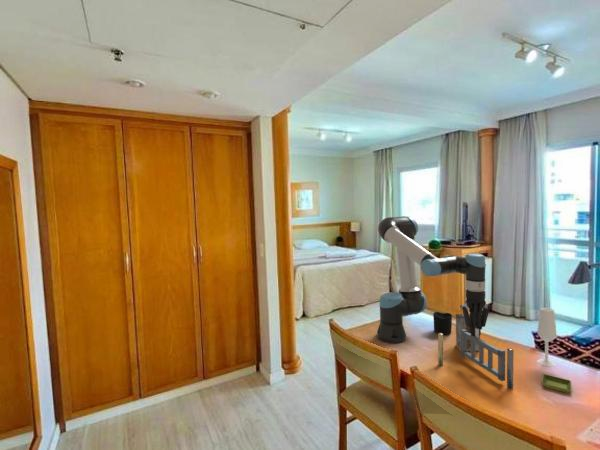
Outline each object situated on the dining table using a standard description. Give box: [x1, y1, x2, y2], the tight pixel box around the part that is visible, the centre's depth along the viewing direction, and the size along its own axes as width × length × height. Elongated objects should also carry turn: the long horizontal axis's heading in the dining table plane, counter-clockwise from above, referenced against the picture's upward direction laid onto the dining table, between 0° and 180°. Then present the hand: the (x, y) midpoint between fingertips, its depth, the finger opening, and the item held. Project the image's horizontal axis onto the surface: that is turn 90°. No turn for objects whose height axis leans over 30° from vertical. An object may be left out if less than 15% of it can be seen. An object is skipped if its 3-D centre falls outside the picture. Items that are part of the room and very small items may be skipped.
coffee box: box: [455, 313, 481, 352], centre depth 158 cm, size 9×6×16 cm
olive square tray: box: [541, 373, 572, 394], centre depth 125 cm, size 9×9×2 cm
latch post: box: [437, 333, 444, 367], centre depth 143 cm, size 2×2×14 cm
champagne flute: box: [536, 307, 557, 368], centre depth 141 cm, size 7×7×24 cm
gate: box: [460, 329, 506, 382], centre depth 137 cm, size 23×2×12 cm, turn 12°
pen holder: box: [432, 311, 453, 336], centre depth 179 cm, size 9×9×10 cm
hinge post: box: [506, 348, 514, 390], centre depth 124 cm, size 2×2×15 cm
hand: (475, 342), depth 143 cm, fingers closed
